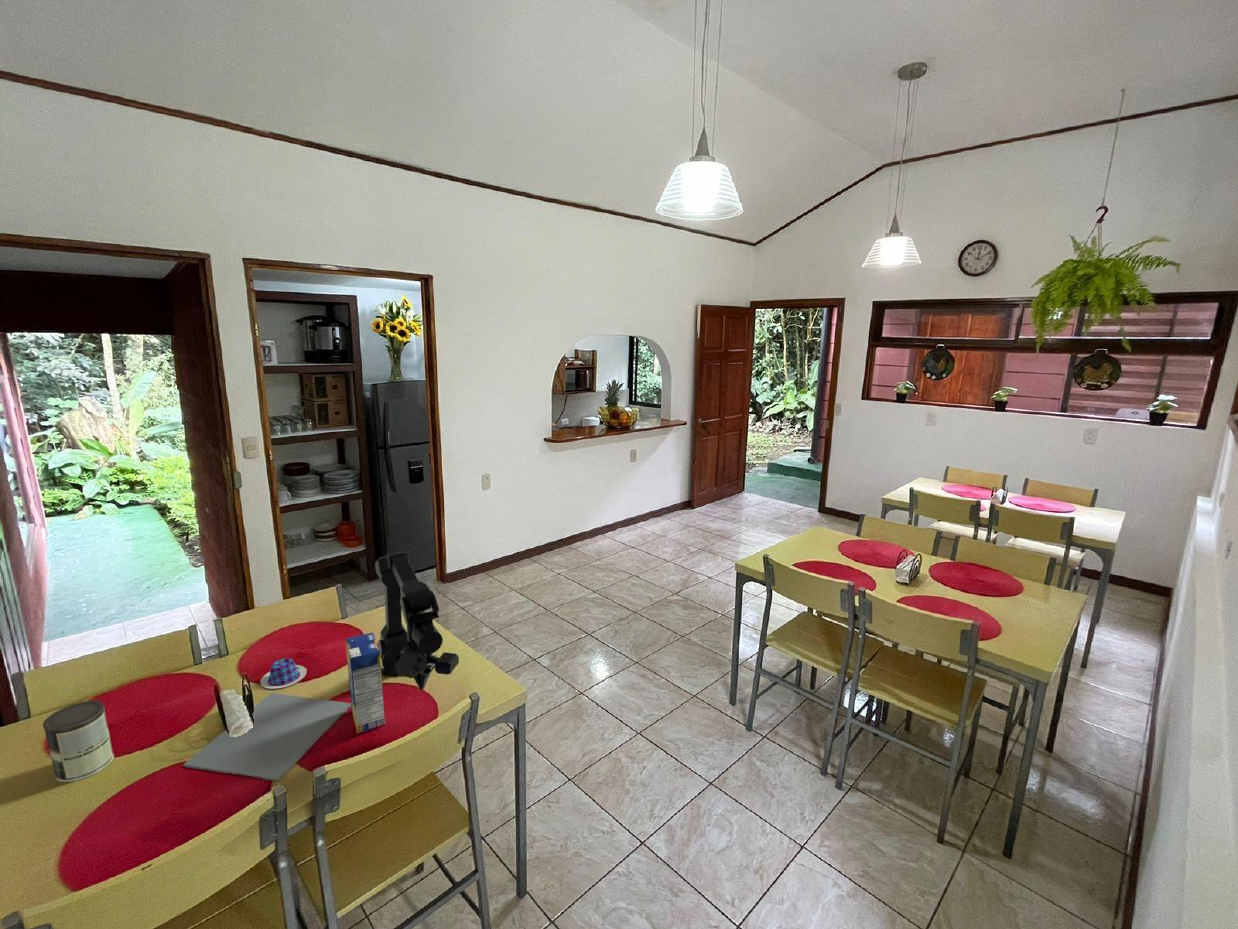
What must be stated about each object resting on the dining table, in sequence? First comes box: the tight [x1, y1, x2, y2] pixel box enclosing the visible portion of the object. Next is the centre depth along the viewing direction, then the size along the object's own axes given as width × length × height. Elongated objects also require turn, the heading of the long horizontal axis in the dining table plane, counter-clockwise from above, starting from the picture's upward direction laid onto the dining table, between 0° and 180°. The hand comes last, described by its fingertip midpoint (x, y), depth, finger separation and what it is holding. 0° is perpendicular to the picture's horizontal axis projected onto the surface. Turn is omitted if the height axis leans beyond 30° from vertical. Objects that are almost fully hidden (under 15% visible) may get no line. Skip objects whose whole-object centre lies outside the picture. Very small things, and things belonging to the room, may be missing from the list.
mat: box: [183, 692, 352, 782], centre depth 145 cm, size 28×25×1 cm
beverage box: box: [345, 632, 386, 735], centre depth 149 cm, size 7×11×22 cm, turn 32°
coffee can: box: [42, 700, 115, 783], centre depth 131 cm, size 10×10×14 cm
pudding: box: [260, 658, 307, 689], centre depth 168 cm, size 12×12×5 cm
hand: (422, 688), depth 147 cm, fingers closed
